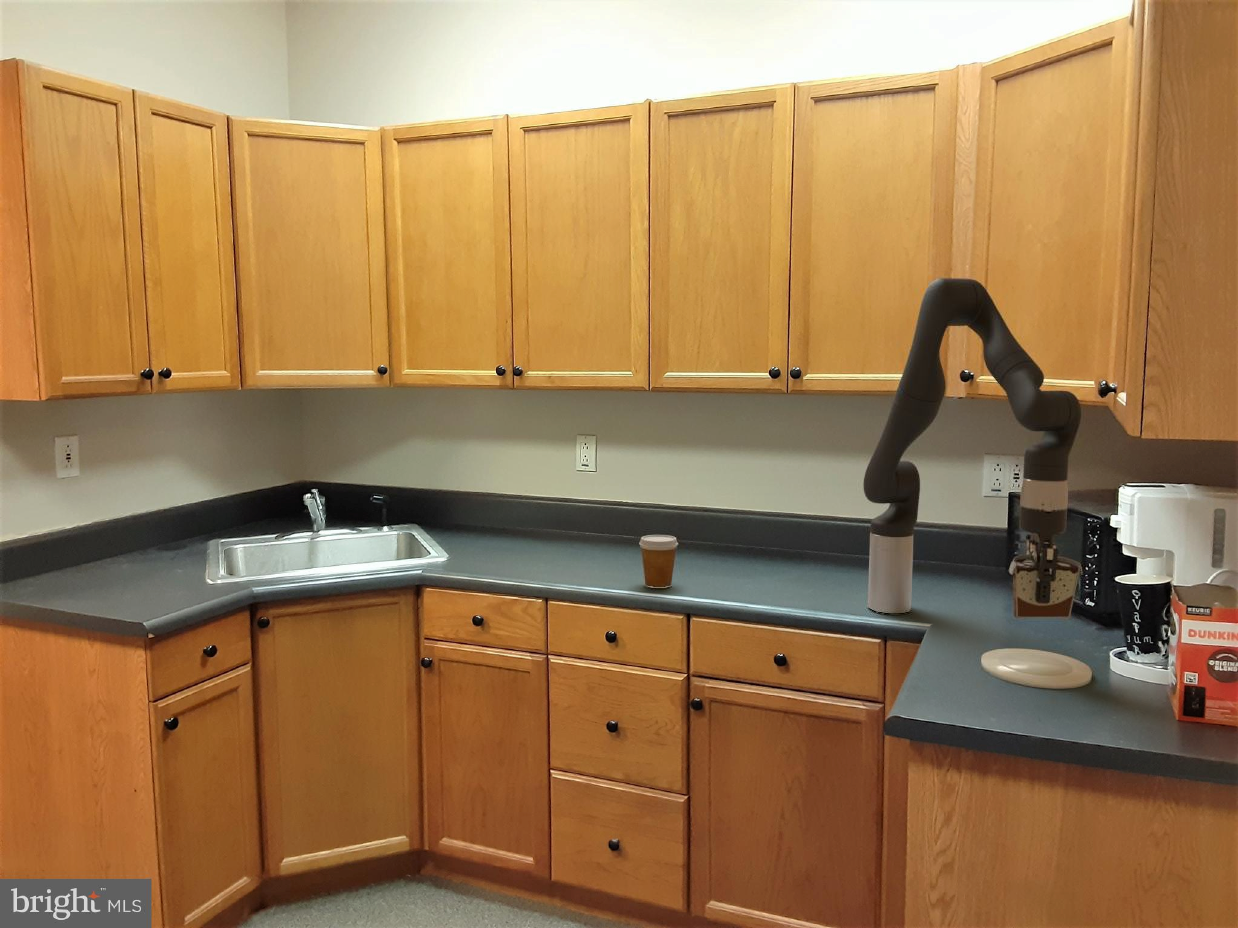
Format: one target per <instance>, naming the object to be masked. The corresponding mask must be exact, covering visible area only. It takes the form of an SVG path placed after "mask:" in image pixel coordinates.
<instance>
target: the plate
mask: <svg viewBox="0 0 1238 928" xmlns="http://www.w3.org/2000/svg"><path fill="white" fill-rule="evenodd" d="M980 659H981V660H980V667H981V668H982V670H984V671H985V673H987V674H988V675H991V676H993V677H995V678H998V679H1000V680H1003V681H1005V682H1009V683H1012V684H1016V685H1022V686H1026V687H1032V688H1040V689H1056V690H1057V689H1059V690H1061V689H1063V690H1064V689H1076V688H1081V687H1083V686H1087V685H1089V684H1090V683H1091V681H1092V676H1093V675H1092V674H1093V672H1092V669H1091V667H1089V666H1088V664H1086V663H1084V662H1082V661H1081V660H1078V659H1076V658H1073V657H1070V656H1067V655H1064V654H1061V653H1056V652H1051V651H1045V650H1039V649H1031V648H999V649H993V650H989V651H986V652H985V653H983V654H982V655H981V658H980Z"/></svg>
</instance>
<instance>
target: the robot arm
mask: <svg viewBox="0 0 1238 928" xmlns="http://www.w3.org/2000/svg"><path fill="white" fill-rule="evenodd" d="M998 309H999V308H997V306H996V304H995V302H994V300H993V298H992V297H991V295H990V294H989V292H988V291H987V289H986V287H985V286H984V285H983V284H982V283H981V282H979V281H978V280H976V279H972V278H957V277H955V278H953V277H952V278H951V277H947V278H946V277H941V278H937V279H934V280H933V281H932V282H931V283H930V284H929V285H928V286H927V288H926V290H925V292H924V294H923V298H922V300H921V304H920V308H919V312H918V316H917V321H916V325H915V330H914V334H913V338H912V339H913V340H912V343H911V346H910V349H909V353H908V357H907V359H906V364H905V367H904V369H903V372H902V375H901V378H900V380H899V382H898V386H897V388H896V392H895V394H894V398H893V401H892V406H891V408H890V412H889V414H888V416H887V419H886V422H885V426H884V428H883V430H882V434H881V436H880V438H879V440H878V443H877V444H876V447H875V449H874V452H873V454H872V456H871V457H870V461H869V462H868V465H867V467H866V470H865V473H864V477H863V492H864V495H865V498H866V499H867V500H868V501H869V502H871V503H873V504H879V505H881V504H882V505H883V504H885V505H886V504H889V506H888V508H887V509H885V511H884V512H883V513H881V514H879V515H877V516H876V517H874V518H872V520H871V522H870V525H869V533H870V534H869V555H868V556H869V559H868V561H869V562H868V563H869V564H868V589H867V591H868V592H867V608H868V607H869V608H870V609H872V610H875V611H878V612H886V613H904V612H909V611H910V610H911V609H912V587H913V586H912V585H913V584H912V583H913V564H914V563H913V562H914V561H913V558H914V557H913V556H914V534H915V533H914V532H915V531H914V530H915V526H916V525H917V521H918V514H919V505H920V503H919V502H920V493H921V478H920V477H921V476H920V473H919V470H918V468H917V466H916V464H914V463H913V462H911V461H908V460H901V458H902V457H903V456H904V453H906V451H907V450H908V449H909V447H910V446H911V445H912V444H913V443H914V442H915V441H916V440H917V439H918V438H919V437H920V436H921V435H922V434H923V433H924V432H925V431H926V430H927V429H928V428H929V427H930V426H931V424H932V423H933V422H934V421H935V419H936V418H937V416H938V414H939V410H940V407H941V405H942V402H943V399H944V397H945V393H946V388H947V384H946V382H947V381H946V377H945V371H944V369H943V365H942V362H941V356H940V355H941V354H940V351H941V346H942V343H943V342H942V341H943V339H944V336H945V332H946V331H947V328H948V327H968V328H969V329H971V330H972V331H973V332H974V333H975V334H976V335H977V336H978V337H979V338H980V339H981V342H982V346H983V348H982V349H983V350H982V351H983V359H984V360H983V361H984V363H985V367H986V369H987V370H988V372H989V373H990V375H991V377H992V378H993V379H994V380H995V381H996V383H997V384H998V385H999V386H1000V387H1001V388H1002V390H1003V391H1004V392H1005V394H1006V397H1007V399H1008V402H1009V405H1010V407H1011V410H1012V413H1013V415H1014V417H1015V419H1016V421H1017V422H1018V423H1019V424H1020V425H1021V426H1022V427H1023V428H1025V429H1027V430H1029V431H1031V432H1043V435H1042V437H1041V439H1040V441H1039V442H1037V443H1036V444H1031V445H1030V446H1029V447H1027V448H1026V449H1025V452H1024V454H1023V455H1024V456H1023V475H1022V476H1023V478H1022V484H1021V489H1020V501H1019V502H1020V503H1019V504H1020V505H1019V518H1018V519H1019V520H1018V522H1019V523H1018V528H1019V530H1021V531H1022V532H1026V533H1027V534H1026V536H1025V555H1026V554H1028V559H1030V560H1032V563H1033V567H1035V568H1036V570H1037V571H1036V598H1035V600H1036V602H1037V603H1042V604H1048V603H1049V602H1050V591H1051V583H1052V582H1055V580H1056V569H1057V559H1058V556H1059V550H1058V548H1057V544H1056V543H1054V538H1053V537H1054V536H1055V535H1062V534H1064V533H1066V532H1067V523H1068V521H1067V519H1068V518H1067V515H1068V503H1069V502H1068V500H1069V499H1068V497H1069V490H1068V489H1069V488H1068V476H1069V475H1068V473H1069V472H1068V471H1069V470H1068V469H1069V457H1070V453H1071V452H1072V448H1073V446H1074V443H1075V440H1076V437H1077V434H1078V431H1079V428H1080V424H1081V422H1082V421H1081V420H1082V408H1081V404H1080V400H1079V399H1078V398H1077V396H1076V395H1075V394H1074V393H1072V392H1071V391H1068V390H1043V389H1042V390H1041V389H1040V388H1041V387H1042V386H1043V384H1044V381H1045V375H1044V373H1043V371H1042V368H1041V367H1040V366H1039V365H1038V364H1037V363H1036V361H1034V359H1033V358H1032V357H1031V356H1030V355H1029V353H1028V352H1027V351H1026V350H1025V349H1024V347H1022V346H1021V344H1020V343H1019V341H1018V340H1017V339H1016V338H1015V337H1014V335H1013V334H1012V332H1011V331H1010V328H1009V327H1008V325H1007V324H1006V321H1005V320H1004V317H1003V316H1002V315H1001V312H1000V311H999V310H998ZM1028 533H1029V534H1028ZM1031 555H1032V558H1031ZM1044 569H1047V570H1048V574H1044ZM870 609H869V610H870ZM872 610H871V611H872ZM878 612H877V613H878ZM910 612H911V611H910ZM910 612H909V613H910Z"/></svg>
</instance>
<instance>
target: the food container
mask: <svg viewBox="0 0 1238 928" xmlns="http://www.w3.org/2000/svg"><path fill="white" fill-rule="evenodd" d="M1031 558H1032V555H1031ZM1036 571H1037V570H1036V568H1035V567H1033V563H1032V560H1030V559H1028V554H1026V553H1025V554H1021V555H1016V556H1015V557H1014V558H1013V560H1012V561H1011V563H1010V566H1009V569H1008V572H1009V574H1010V575H1012V582H1013V583H1012V586H1013V588H1012V589H1013V590H1012V591H1013V593H1012V594H1013V616H1014V617H1015V618H1016V619H1070V618H1071V614H1072V609H1073V606H1074V605H1073V604H1074V599H1075V596H1076V595H1075V594H1076V589H1077V585H1078V581H1079V575H1082V576H1083V567H1082V565H1081V563H1080V562H1078V561H1076V560H1074V559H1072V558H1067V557H1064V556H1063V557H1062V556H1059V555H1058V559H1057V569H1056V580H1055V582H1052V583H1051V591H1050V602H1049V603H1048V604H1042V603H1037V602H1036V600H1035V598H1036ZM1044 574H1048V570H1047V569H1044Z"/></svg>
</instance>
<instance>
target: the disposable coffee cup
mask: <svg viewBox="0 0 1238 928" xmlns="http://www.w3.org/2000/svg"><path fill="white" fill-rule="evenodd" d="M638 545H640V546H639V547H640V549H641V558H642V568H643V575H644V576H643V577H644V582H645V584H646V585H647V586H653V587H666V586H670V585H671V586H672V582H673V574H674V567H675V566H674V565H675V559H676V551H677V547H678V545H679V542H678V541H677V537H675V536H673V535H667V534H649V535H643V536H641V538H640V541H639V543H638ZM646 585H645V586H646Z"/></svg>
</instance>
